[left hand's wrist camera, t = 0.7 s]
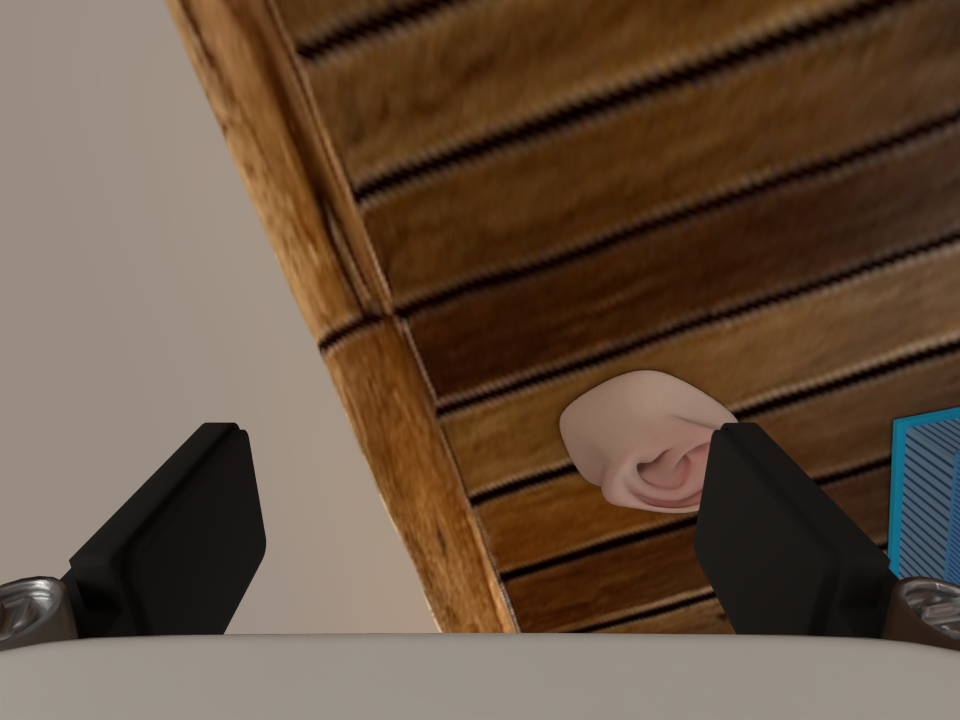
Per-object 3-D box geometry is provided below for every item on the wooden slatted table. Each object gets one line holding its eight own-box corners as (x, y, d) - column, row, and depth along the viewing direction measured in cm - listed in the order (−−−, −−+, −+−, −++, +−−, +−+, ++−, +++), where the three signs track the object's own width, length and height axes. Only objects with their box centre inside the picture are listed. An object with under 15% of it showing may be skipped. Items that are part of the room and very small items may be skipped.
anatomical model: (539, 465, 40) (658, 351, 37) (534, 438, 44) (641, 332, 41) (664, 562, 43) (784, 465, 40) (650, 528, 47) (758, 437, 44)
